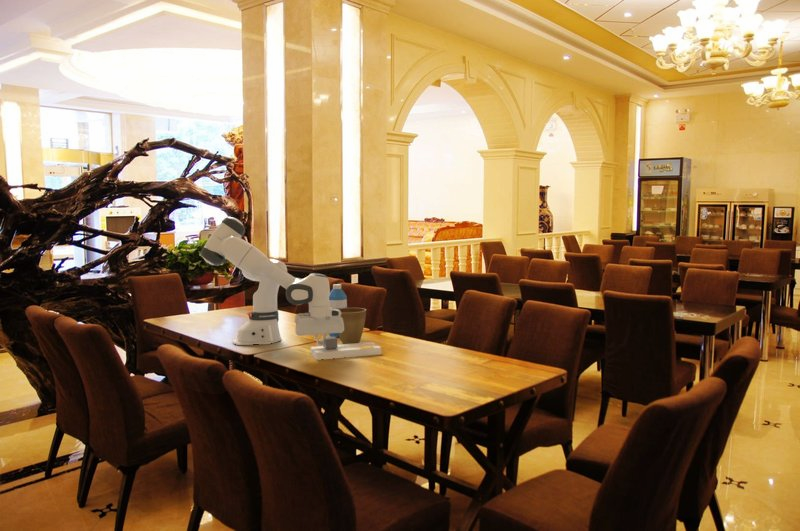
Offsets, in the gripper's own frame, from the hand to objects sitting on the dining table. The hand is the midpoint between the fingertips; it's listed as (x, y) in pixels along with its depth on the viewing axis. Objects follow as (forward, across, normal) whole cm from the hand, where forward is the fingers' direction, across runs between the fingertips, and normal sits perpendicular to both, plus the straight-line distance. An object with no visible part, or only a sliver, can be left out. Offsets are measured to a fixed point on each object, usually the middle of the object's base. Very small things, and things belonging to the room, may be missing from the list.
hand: (320, 344), depth 261 cm
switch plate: (+5, +11, 0) cm, 12 cm away
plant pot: (+5, +18, +18) cm, 26 cm away
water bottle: (+5, +18, +41) cm, 45 cm away
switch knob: (+3, +4, 0) cm, 5 cm away
